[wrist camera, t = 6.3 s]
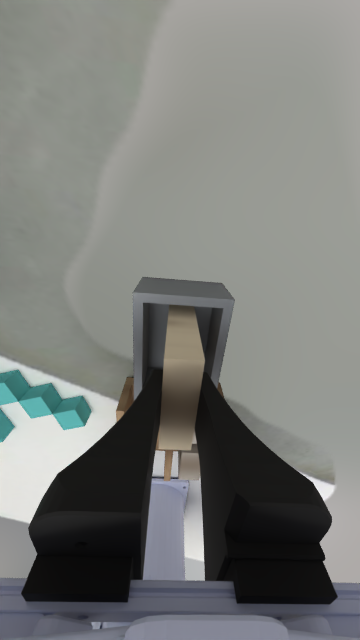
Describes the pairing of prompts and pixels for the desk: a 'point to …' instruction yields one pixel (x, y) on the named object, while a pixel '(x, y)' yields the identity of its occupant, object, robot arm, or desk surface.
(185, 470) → the block
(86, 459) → the robot arm
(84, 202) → the desk surface
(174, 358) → the birch sheet
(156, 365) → the grey bin
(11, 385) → the alien figure
